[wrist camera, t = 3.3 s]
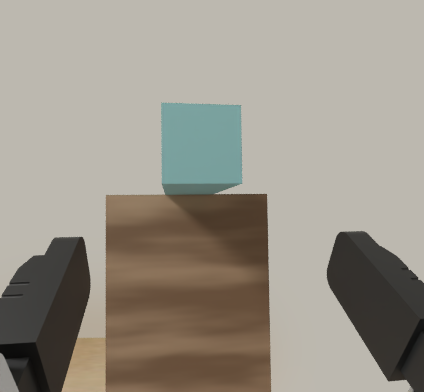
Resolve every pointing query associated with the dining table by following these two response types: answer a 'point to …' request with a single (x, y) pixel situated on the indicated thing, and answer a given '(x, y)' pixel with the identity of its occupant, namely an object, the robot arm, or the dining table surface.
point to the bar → (200, 148)
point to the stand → (187, 293)
